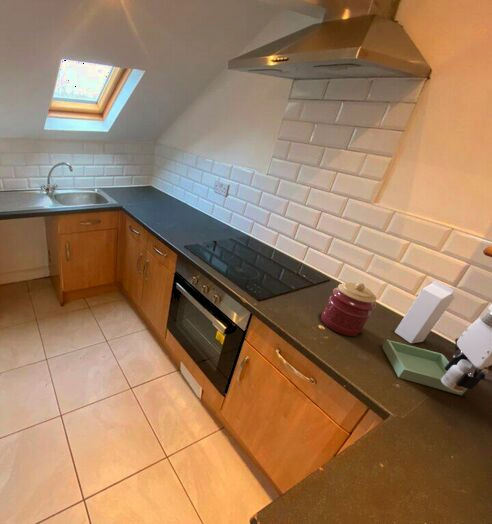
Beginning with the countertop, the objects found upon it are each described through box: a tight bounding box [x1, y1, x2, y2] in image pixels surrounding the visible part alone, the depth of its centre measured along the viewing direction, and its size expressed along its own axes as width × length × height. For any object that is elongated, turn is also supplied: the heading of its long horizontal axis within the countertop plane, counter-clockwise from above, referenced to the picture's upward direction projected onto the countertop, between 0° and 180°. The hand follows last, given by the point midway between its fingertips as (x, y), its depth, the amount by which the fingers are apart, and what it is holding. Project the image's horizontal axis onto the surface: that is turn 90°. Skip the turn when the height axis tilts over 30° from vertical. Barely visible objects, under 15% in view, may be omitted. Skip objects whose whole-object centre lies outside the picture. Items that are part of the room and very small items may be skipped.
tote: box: [381, 339, 468, 396], centre depth 91 cm, size 16×14×3 cm
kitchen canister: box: [320, 282, 377, 337], centre depth 104 cm, size 13×13×18 cm
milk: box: [394, 279, 455, 344], centre depth 101 cm, size 6×6×22 cm
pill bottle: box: [441, 359, 479, 392], centre depth 76 cm, size 4×4×8 cm
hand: (457, 378), depth 77 cm, fingers closed on pill bottle, 4 cm apart
